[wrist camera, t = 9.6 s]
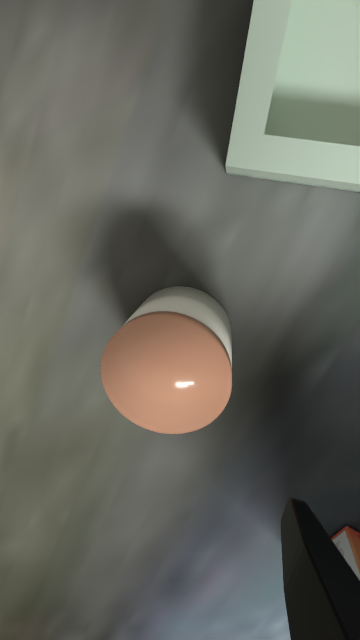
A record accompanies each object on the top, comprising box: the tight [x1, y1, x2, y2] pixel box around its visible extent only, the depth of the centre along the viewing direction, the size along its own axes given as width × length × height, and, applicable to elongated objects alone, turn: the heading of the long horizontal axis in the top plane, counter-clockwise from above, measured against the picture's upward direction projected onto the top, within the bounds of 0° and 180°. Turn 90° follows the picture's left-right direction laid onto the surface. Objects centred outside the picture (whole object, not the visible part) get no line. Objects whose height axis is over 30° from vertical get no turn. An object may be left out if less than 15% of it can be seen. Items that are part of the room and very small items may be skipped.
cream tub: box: [101, 286, 232, 434], centre depth 16 cm, size 6×6×5 cm
